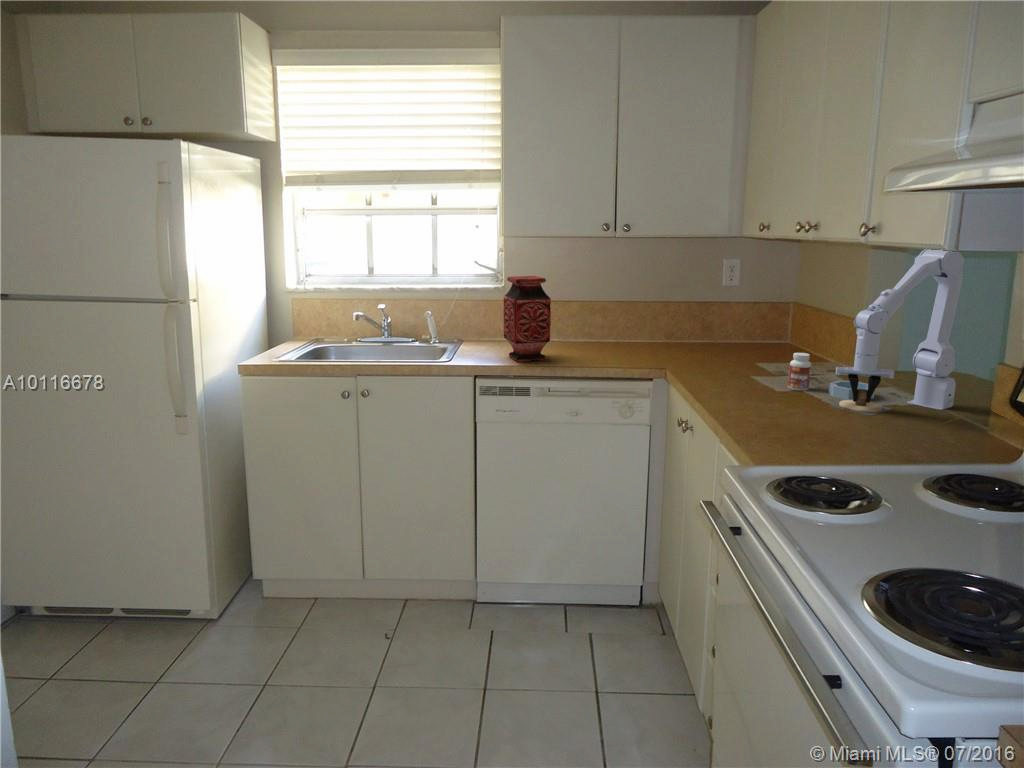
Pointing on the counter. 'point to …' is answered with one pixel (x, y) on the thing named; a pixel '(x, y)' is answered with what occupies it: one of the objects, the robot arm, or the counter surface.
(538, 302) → the vase
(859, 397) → the lid
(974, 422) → the counter surface
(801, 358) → the pill bottle
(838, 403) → the mat
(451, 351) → the counter surface
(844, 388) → the bowl
